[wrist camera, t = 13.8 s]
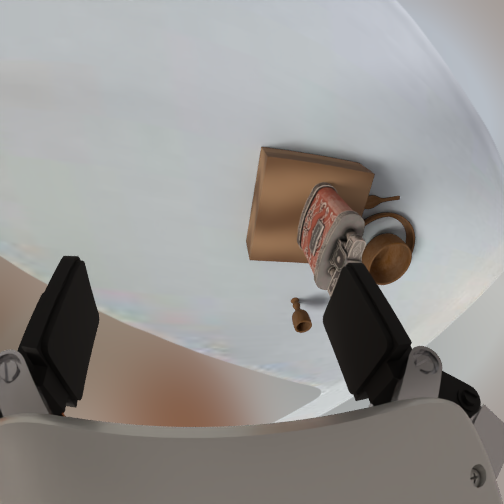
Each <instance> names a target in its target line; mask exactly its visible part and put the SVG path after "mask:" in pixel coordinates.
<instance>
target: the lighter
mask: <svg viewBox="0 0 504 504" xmlns="http://www.w3.org/2000/svg"><path fill="white" fill-rule="evenodd" d="M364 227H365V222H364V220H363V218H362V217H361V216H360V215H359V214H358V213H357V212H355V211H353V210H352V209H351V208H350V207H349V206H348V205H347V203H346V202H345V201H344V200H343V199H342V198H341V197H340V196H339V195H338V193H337V191H336V189H335V188H334V187H333V186H332V185H331V184H329V183H327V182H321V183H318V184H317V185H315V186H314V187H313V189H312V191H311V193H310V195H309V197H308V199H307V201H306V203H305V206H304V208H303V211H302V214H301V217H300V222H299V226H298V234H297V243H298V245H299V247H300V248H301V249H302V250H303V252H304V254H305V256H306V258H307V260H308V262H309V265H310V267H311V269H312V271H313V273H314V281H315V283H316V285H317V286H318V288H320V289H323V290H328V293H329V295H330V297H331V295H332V293H333V290H334V288H335V285H336V283H337V280H338V277H339V275H340V272H341V269H342V268H343V267H344V266H346V264H347V263H362V261H361V255H362V253H363V251H364V248H365V246H366V242H365V241H364V240H363V238H362V236H363V232H364Z"/></svg>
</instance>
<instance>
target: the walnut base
mask: <svg viewBox="0 0 504 504" xmlns="http://www.w3.org/2000/svg"><path fill="white" fill-rule="evenodd" d="M374 175H375V174H374V173H372V172H371V171H370V170H368V169H367V168H366V167H364V166H363V165H361V164H360V163H357V162H352V161H347V160H342V159H337V158H331V157H326V156H320V155H314V154H308V153H302V152H295V151H289V150H282V149H274V148H267V147H261V153H260V159H259V165H258V171H257V177H256V183H255V190H254V196H253V202H252V208H251V214H250V221H249V227H248V233H247V240H246V243H247V248H248V254H249V259H250V260H258V261H277V262H297V263H309V262H308V260H307V258H306V256H305V254H304V252H303V250H302V249H301V248H300V247H299V245H298V243H297V234H298V226H299V222H300V217H301V214H302V211H303V208H304V206H305V203H306V201H307V199H308V197H309V195H310V193H311V191H312V189H313V187H314V186H315V185H317V184H318V183H321V182H327V183H329V184H331V185H332V186H333V187H334V188H335V189H336V191H337V193H338V195H339V196H340V197H341V198H342V199H343V200H344V201H345V202H346V203H347V205H348V206H349V207H350V208H351V209H352V210H353V211H355V212H357V213H358V214H359V215H360V216H361V217H362V214H363V211H364V208H365V205H366V202H367V198H368V195H369V192H370V188H371V185H372V182H373V178H374Z"/></svg>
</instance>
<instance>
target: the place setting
mask: <svg viewBox="0 0 504 504" xmlns="http://www.w3.org/2000/svg"><path fill="white" fill-rule="evenodd" d="M399 199H400V196H394V197H389V198H379V197H377V196H374V195H370V196H368V198H367V202H366V205H365V209H371V208H374V207H375V206H377V205H378V204H379V203H382V202H386V201H392V200H399ZM382 217H393V218H395V219H397V220H399V221H400V222H401V223H402V225H403V226H404V228H405V231H406V243H405V242H404V241H403V240H402V239H401V238H399V237H398V236H396V235H394V234H390V233H386V234H381V235H378V236H376V237H375V238H373V239H372V240H371V241H370V242H369V243H368V244H367V245H366V247H365V249H364V251H363V254H362V263H363V264H364V265H365V266H366V268H367V269H368V271H369V273H370V274H371V276H372V277H373V279H374V280H375V282H376V283H377V284H378V285H386V284H390V283H392V282H394V281H396V280H398V279H399V278H400V277H401V276H402V275H403V274H404V273H405V272H406V271H407V269H408V267H409V265H410V263H411V259H412V252H413V249H414V245H415V233H414V229H413V227H412V225H411V224H410V222H409V221H408V220H407V219H405V218H404V217H402V216H401V215H398V214H395V213H389V212H386V213H379V214H375V215H373V216H370V217H368V218H367V219H365V220H364V222H365V226H366V225H367V224H369V223H370V222H372V221H374V220H376V219H379V218H382ZM298 301H299V299H298V298H293V299H292V300H291V303H293V308H294V309H295V312H294V313H293V315H292V321H293V325H294V328H295V330H296V331H297V332H299V333H303V332H306V331H308V330H309V329H310V328H311V327H312V323H311V320H310V317H309V315H308V313H307V312H306V311H305V310H302V309H300V304H299V302H298Z"/></svg>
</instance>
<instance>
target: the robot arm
mask: <svg viewBox="0 0 504 504" xmlns="http://www.w3.org/2000/svg"><path fill="white" fill-rule="evenodd" d="M98 324H99V314H98V310H97V307H96V304H95V300H94V297H93V293H92V290H91V286H90V282H89V278H88V274H87V270H86V266H85V263H84V261H81V260H80V258H79V257H78V256H63V257H62V259H61V261H60V263H59V264H58V266H57V268H56V270H55V272H54V274H53V276H52V278H51V280H50V282H49V284H48V286H47V288H46V290H45V292H44V293H43V294H42V295H41V297H40V299H39V302H38V303H37V305H36V308H35V310H34V312H33V314H32V316H31V319H30V321H29V324H28V326H27V328H26V330H25V333H24V336H23V338H22V341H21V343H20V345H19V348H18V351H15V350H6V351H2V352H1V353H0V504H503V502H502V498H501V494H500V491H499V488H498V485H497V481H496V478H497V476H498V474H499V472H500V470H501V468H502V465H503V463H504V423H503V422H502V421H501V420H500V419H499V418H498V417H497V416H496V415H495V414H494V413H493V412H492V411H490V410H489V409H488V408H487V407H486V406H485V405H484V404H483V405H482V406H480V403H481V402H480V397H479V395H478V393H477V391H476V390H475V389H474V388H473V387H471V386H470V385H468V384H466V383H464V382H462V381H461V380H458V379H457V378H455V377H453V376H451V375H449V374H447V373H445V372H443V371H442V363H441V360H440V358H439V356H438V355H437V354H436V353H435V352H434V351H433V350H431V349H430V348H427V347H424V346H417V347H414V348H413V349H412V348H411V346H410V345H411V343H412V342H411V340H410V338H409V337H408V335H407V333H406V331H405V330H404V328H403V326H402V324H401V323H400V321H399V319H398V318H397V316H396V314H395V313H394V311H393V309H392V308H391V306H390V304H389V303H388V301H387V299H386V298H385V296H384V295H383V293H382V291H381V290H380V288H379V287H378V285H377V283H376V282H375V280H374V279H373V277H372V276H371V274H370V273H369V271H368V269H367V268H366V266H365V265H364V264H363V263H347V264H346V266H344V267H343V268H342V269H341V272H340V275H339V277H338V280H337V283H336V285H335V288H334V290H333V293H332V295H331V298H330V301H329V303H328V305H327V308H326V310H325V313H324V315H323V324H324V327H325V329H326V332H327V334H328V337H329V340H330V342H331V345H332V347H333V350H334V353H335V355H336V358H337V360H338V363H339V366H340V368H341V371H342V374H343V376H344V379H345V382H346V384H347V387H348V390H349V392H350V393H351V394H354V397H355V400H356V401H358V400H363V399H367V398H369V401H370V405H369V407H368V408H364V409H359V410H354V411H349V412H345V413H340V414H334V415H328V416H323V417H316V418H310V419H303V420H296V421H288V422H279V423H270V424H260V425H246V426H228V427H160V426H143V425H130V424H119V423H110V422H101V421H93V420H85V419H79V418H72V417H66V416H65V415H64V412H65V407H66V406H70V407H76V406H77V400H81V399H82V395H83V390H84V384H85V380H86V375H87V370H88V365H89V361H90V356H91V352H92V348H93V344H94V340H95V336H96V332H97V328H98Z"/></svg>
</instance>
